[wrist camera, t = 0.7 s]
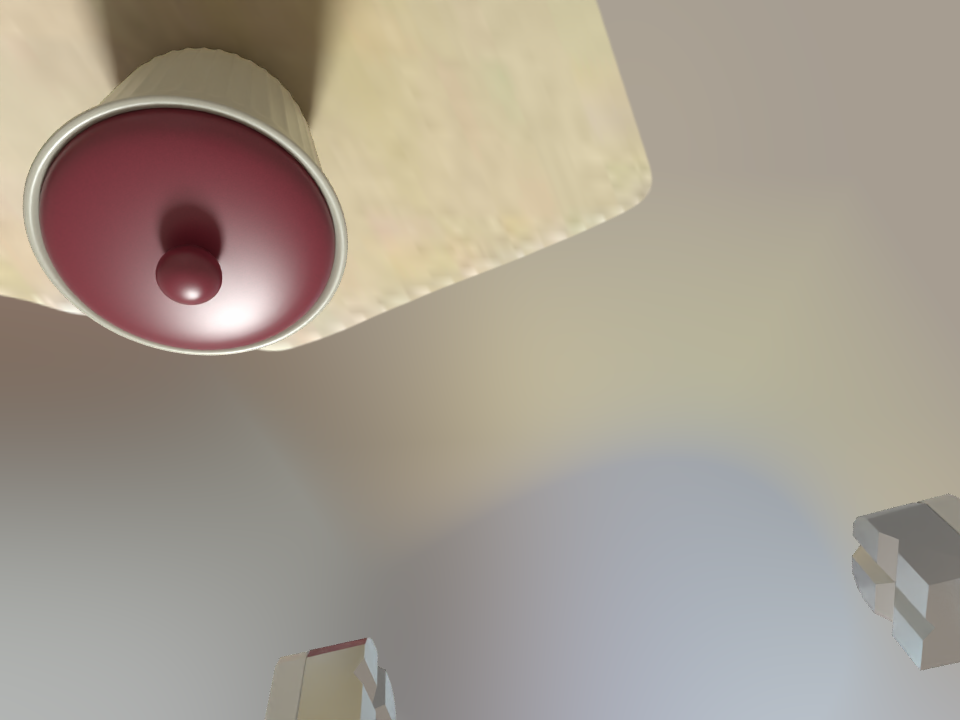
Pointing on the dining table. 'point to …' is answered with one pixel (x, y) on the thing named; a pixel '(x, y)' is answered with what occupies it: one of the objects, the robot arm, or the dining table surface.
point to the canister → (189, 208)
